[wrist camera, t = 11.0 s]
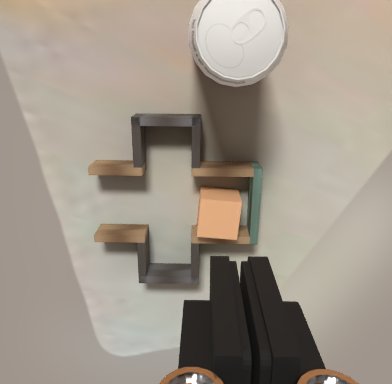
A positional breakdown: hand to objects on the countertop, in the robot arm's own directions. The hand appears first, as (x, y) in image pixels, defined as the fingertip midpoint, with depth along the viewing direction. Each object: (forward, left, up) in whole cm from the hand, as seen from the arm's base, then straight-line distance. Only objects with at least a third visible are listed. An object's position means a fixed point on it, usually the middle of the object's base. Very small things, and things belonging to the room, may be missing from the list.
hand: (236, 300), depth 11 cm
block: (-1, +11, -37) cm, 39 cm away
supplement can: (-2, -9, -37) cm, 38 cm away
